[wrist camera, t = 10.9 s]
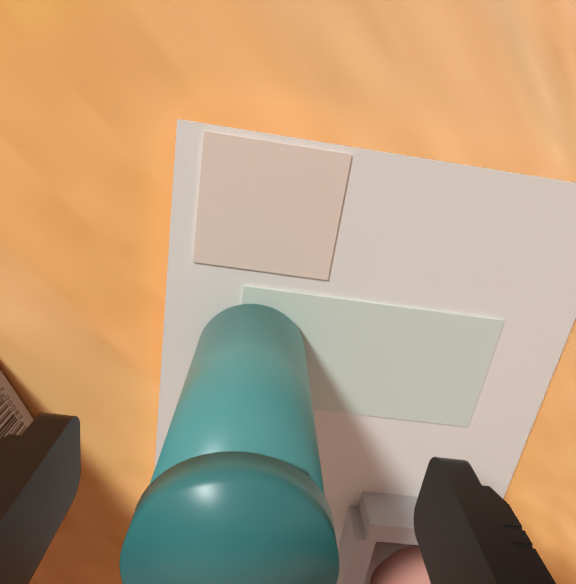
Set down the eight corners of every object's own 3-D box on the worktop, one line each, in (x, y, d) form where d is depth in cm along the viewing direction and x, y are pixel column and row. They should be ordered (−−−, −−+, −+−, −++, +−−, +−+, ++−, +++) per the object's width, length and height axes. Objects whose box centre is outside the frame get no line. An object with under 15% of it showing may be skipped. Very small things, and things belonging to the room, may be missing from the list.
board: (614, 188, 15) (673, 200, 13) (455, 596, 22) (476, 651, 20) (182, 119, 14) (165, 119, 12) (151, 571, 21) (136, 626, 18)
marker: (315, 303, 15) (358, 495, 8) (298, 400, 17) (319, 650, 9) (200, 289, 15) (121, 474, 7) (192, 388, 16) (117, 637, 9)
